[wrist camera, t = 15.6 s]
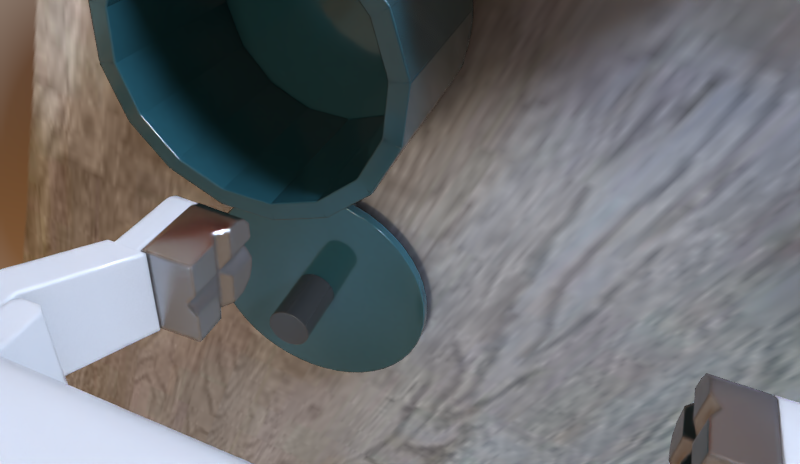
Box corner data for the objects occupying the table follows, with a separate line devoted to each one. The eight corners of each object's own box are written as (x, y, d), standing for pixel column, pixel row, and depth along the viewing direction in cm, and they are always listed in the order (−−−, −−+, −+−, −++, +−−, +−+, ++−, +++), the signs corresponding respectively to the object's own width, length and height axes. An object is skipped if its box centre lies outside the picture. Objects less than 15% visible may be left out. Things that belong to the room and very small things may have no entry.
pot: (500, -128, 25) (431, -81, 19) (449, 156, 33) (388, 257, 27) (206, -184, 28) (58, -159, 22) (223, 92, 36) (118, 170, 29)
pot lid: (447, 221, 36) (418, 276, 32) (415, 386, 44) (390, 443, 40) (219, 152, 38) (169, 195, 35) (231, 319, 47) (192, 367, 43)
